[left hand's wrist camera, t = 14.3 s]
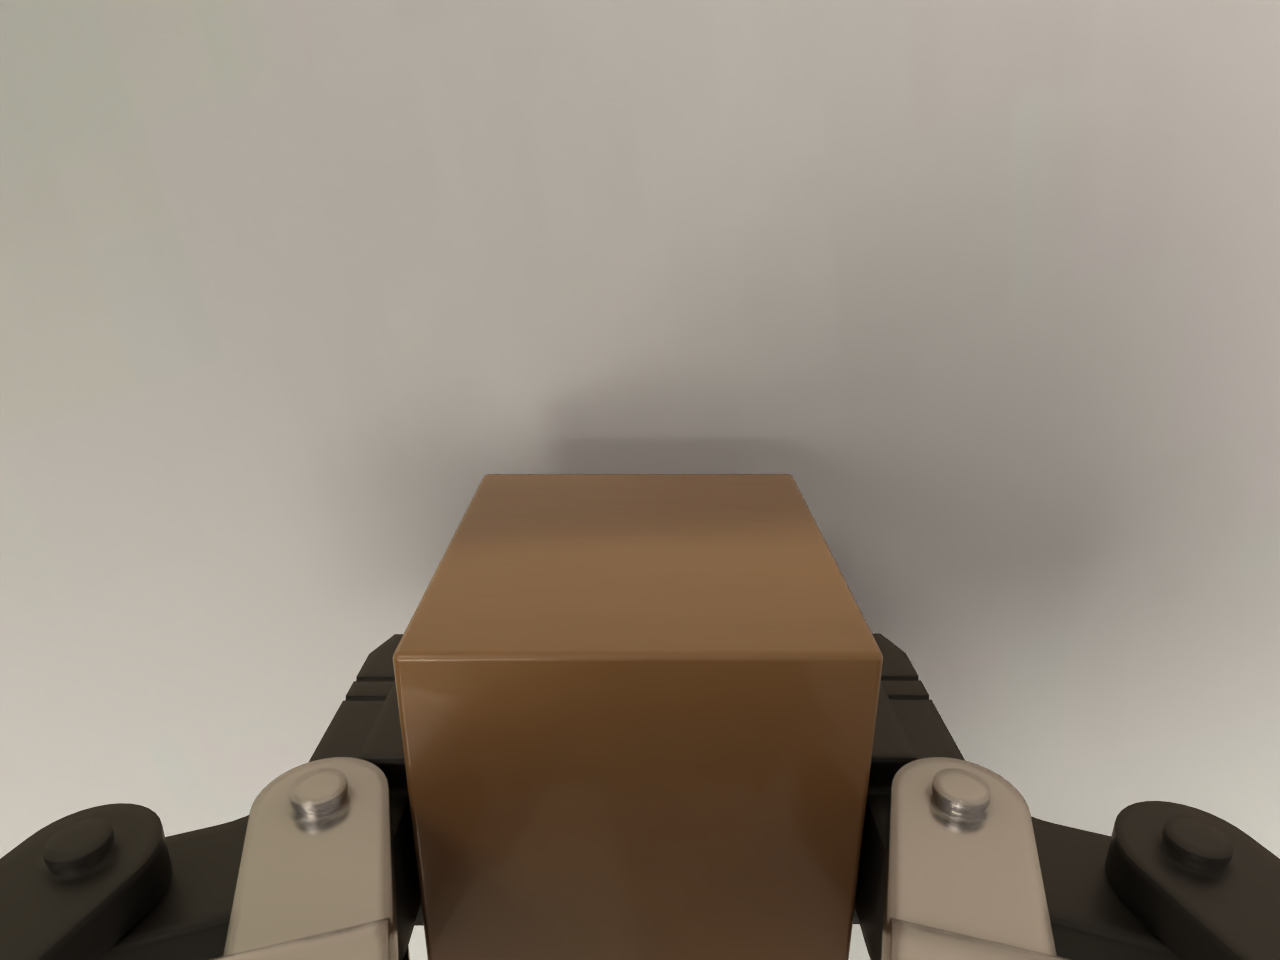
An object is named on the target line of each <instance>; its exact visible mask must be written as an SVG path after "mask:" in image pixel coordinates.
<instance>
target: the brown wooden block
mask: <svg viewBox="0 0 1280 960" xmlns="http://www.w3.org/2000/svg"><path fill="white" fill-rule="evenodd" d="M882 663H883V656H882V653H881V651H880V649H879V647H878V645H877V643H876V641H875V639H874V637H873V635H872V633H871V631H870V629H869V627H868V625H867V623H866V621H865V619H864V617H863V615H862V613H861V611H860V609H859V607H858V605H857V603H856V601H855V599H854V597H853V595H852V593H851V591H850V589H849V587H848V585H847V583H846V581H845V579H844V577H843V575H842V573H841V572H840V570H839V568H838V566H837V564H836V562H835V560H834V558H833V556H832V554H831V552H830V550H829V548H828V546H827V544H826V542H825V540H824V538H823V536H822V534H821V532H820V530H819V528H818V526H817V524H816V522H815V520H814V518H813V516H812V514H811V512H810V510H809V508H808V506H807V504H806V502H805V500H804V498H803V496H802V494H801V492H800V490H799V488H798V486H797V484H796V482H795V481H794V479H793V477H792V476H791V475H789V474H488V475H485V476H484V477H483V479H482V481H481V483H480V485H479V487H478V489H477V491H476V493H475V495H474V497H473V499H472V501H471V503H470V505H469V507H468V509H467V511H466V513H465V515H464V517H463V519H462V521H461V523H460V524H459V526H458V528H457V530H456V532H455V534H454V536H453V538H452V540H451V542H450V544H449V546H448V548H447V550H446V552H445V554H444V556H443V558H442V560H441V562H440V564H439V566H438V568H437V570H436V572H435V574H434V576H433V578H432V580H431V582H430V583H429V585H428V587H427V589H426V591H425V593H424V595H423V597H422V599H421V601H420V603H419V605H418V607H417V609H416V611H415V613H414V615H413V617H412V619H411V621H410V623H409V625H408V627H407V629H406V631H405V633H404V635H403V637H402V639H401V641H400V642H399V644H398V646H397V648H396V650H395V652H394V655H393V666H394V674H395V683H396V691H397V700H398V709H399V717H400V726H401V734H402V743H403V751H404V760H405V768H406V777H407V786H408V794H409V803H410V811H411V820H412V828H413V837H414V845H415V854H416V862H417V871H418V880H419V888H420V897H421V905H422V914H423V922H424V931H425V939H426V948H427V956H428V960H848V959H849V950H850V941H851V933H852V924H853V915H854V906H855V898H856V889H857V880H858V872H859V863H860V854H861V845H862V837H863V828H864V819H865V811H866V802H867V793H868V784H869V776H870V767H871V758H872V750H873V741H874V732H875V723H876V715H877V706H878V697H879V689H880V680H881V671H882Z"/></svg>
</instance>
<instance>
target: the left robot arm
mask: <svg viewBox="0 0 1280 960" xmlns="http://www.w3.org/2000/svg"><path fill="white" fill-rule="evenodd" d="M403 635H404V634H395V635H394V636H392V637H391V638H390V639H388V640H387V641H386V642H384V643H383V644H382V645H381V646H379V647H378V648H377V649H375V650H374V651H373V652H371V653H370V654H369V656H368V657H367V659H366V661H365V663H364V665H363V666H362V668H361V670H360V672H359V673H358V675H357V680H356V681H354V682H353V684H352V686H351V688H350V689H349V691H348V693H347V695H346V701H343V702H342V704H341V706H340V707H339V709H338V711H337V713H336V714H335V716H334V718H333V720H332V722H331V723H330V725H329V727H328V729H327V730H326V732H325V734H324V736H323V738H322V739H321V741H320V743H319V745H318V746H317V748H316V750H315V752H314V754H313V755H312V757H311V759H310V761H309V763H306V764H303V765H300V766H298V767H296V768H293V769H291V770H289V771H287V772H286V773H284V774H282V775H280V776H279V777H277V778H276V779H275V780H273V781H272V782H271V783H269V784H268V785H267V786H266V787H265V788H264V789H263V790H262V791H261V793H260V794H259V795H258V796H257V798H256V799H255V801H254V803H253V805H252V807H251V811H250V814H249V815H248V816H246V817H243V818H240V819H238V820H235V821H232V822H228V823H225V824H221V825H217V826H213V827H208V828H204V829H199V830H195V831H190V832H186V833H182V834H177V835H173V836H168V837H165V835H164V831H163V827H162V824H161V821H160V818H159V817H158V816H157V814H156V813H155V812H153V811H152V810H150V809H149V808H146V807H143V806H141V805H135V804H108V805H102V806H97V807H93V808H89V809H86V810H82V811H79V812H76V813H74V814H71V815H68V816H66V817H64V818H62V819H59V820H57V821H55V822H53V823H51V824H50V825H48V826H46V827H44V828H42V829H41V830H39V831H38V832H36V833H35V834H33V835H32V836H30V837H29V838H28V839H26V840H25V841H24V842H22V843H21V844H20V845H18V846H17V847H16V848H14V849H13V850H12V851H10V852H9V853H8V854H6V855H5V856H4V857H2V858H1V859H0V960H410V955H409V947H408V944H409V941H410V937H411V934H412V931H413V927H414V925H424V922H423V914H422V905H421V897H420V888H419V880H418V871H417V862H416V854H415V845H414V837H413V828H412V820H411V811H410V803H409V794H408V786H407V777H406V768H405V760H404V751H403V743H402V734H401V726H400V717H399V709H398V700H397V691H396V683H395V674H394V666H393V655H394V652H395V650H396V648H397V646H398V644H399V642H400V641H401V639H402V637H403ZM872 635H873V637H874V639H875V641H876V643H877V645H878V647H879V649H880V651H881V653H882V656H883V663H882V671H881V680H880V689H879V697H878V706H877V715H876V723H875V732H874V741H873V750H872V758H871V767H870V776H869V784H868V793H867V802H866V811H865V819H864V828H863V837H862V845H861V854H860V863H859V872H858V880H857V889H856V898H855V906H854V915H853V924H860V926H861V930H862V933H863V936H864V940H865V943H866V947H867V950H868V953H869V956H870V960H1280V859H1279V858H1278V857H1276V856H1275V855H1274V854H1272V853H1271V852H1270V851H1268V850H1267V849H1266V848H1264V847H1263V846H1262V845H1260V844H1259V843H1258V842H1256V841H1255V840H1254V839H1252V838H1251V837H1250V836H1248V835H1247V834H1246V833H1244V832H1243V831H1241V830H1240V829H1238V828H1237V827H1235V826H1233V825H1232V824H1230V823H1228V822H1226V821H1225V820H1223V819H1220V818H1218V817H1216V816H1214V815H1212V814H1210V813H1207V812H1204V811H1202V810H1199V809H1196V808H1193V807H1189V806H1186V805H1182V804H1177V803H1172V802H1162V801H1145V802H1139V803H1135V804H1132V805H1130V806H1128V807H1126V808H1125V809H1123V810H1122V811H1121V812H1120V813H1119V814H1118V816H1117V818H1116V821H1115V824H1114V829H1113V833H1112V837H1111V836H1106V835H1102V834H1097V833H1093V832H1089V831H1084V830H1080V829H1075V828H1071V827H1067V826H1062V825H1058V824H1053V823H1050V822H1046V821H1042V820H1039V819H1036V818H1034V817H1031V814H1030V811H1029V808H1028V805H1027V803H1026V801H1025V799H1024V798H1023V796H1022V795H1021V794H1020V793H1019V791H1018V790H1017V789H1016V788H1015V787H1014V786H1013V785H1012V784H1010V783H1009V782H1008V781H1007V780H1005V779H1004V778H1003V777H1001V776H1000V775H998V774H996V773H994V772H993V771H991V770H989V769H987V768H984V767H982V766H980V765H977V764H974V763H971V762H968V761H965V760H964V758H963V756H962V754H961V753H960V751H959V749H958V747H957V745H956V743H955V742H954V740H953V738H952V736H951V734H950V733H949V731H948V729H947V727H946V725H945V724H944V722H943V720H942V718H941V716H940V715H939V713H938V711H937V709H936V707H935V705H934V704H933V702H932V700H929V695H928V693H927V691H926V689H925V687H924V686H923V684H922V682H921V681H919V680H918V675H917V673H916V671H915V669H914V667H913V666H912V664H911V662H910V660H909V658H908V657H907V655H906V653H905V652H903V651H902V650H901V649H899V648H898V647H897V646H896V645H894V644H893V643H892V642H890V641H889V640H888V639H886V638H885V637H884V636H883V635H881V634H872Z"/></svg>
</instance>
